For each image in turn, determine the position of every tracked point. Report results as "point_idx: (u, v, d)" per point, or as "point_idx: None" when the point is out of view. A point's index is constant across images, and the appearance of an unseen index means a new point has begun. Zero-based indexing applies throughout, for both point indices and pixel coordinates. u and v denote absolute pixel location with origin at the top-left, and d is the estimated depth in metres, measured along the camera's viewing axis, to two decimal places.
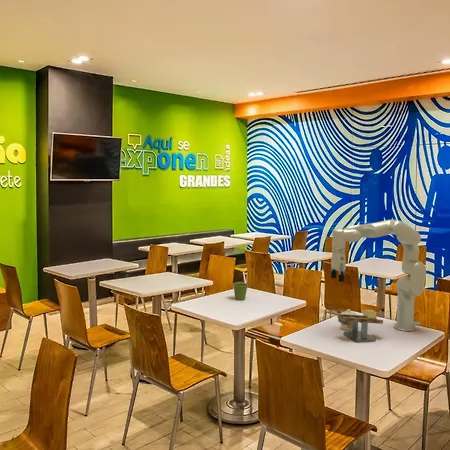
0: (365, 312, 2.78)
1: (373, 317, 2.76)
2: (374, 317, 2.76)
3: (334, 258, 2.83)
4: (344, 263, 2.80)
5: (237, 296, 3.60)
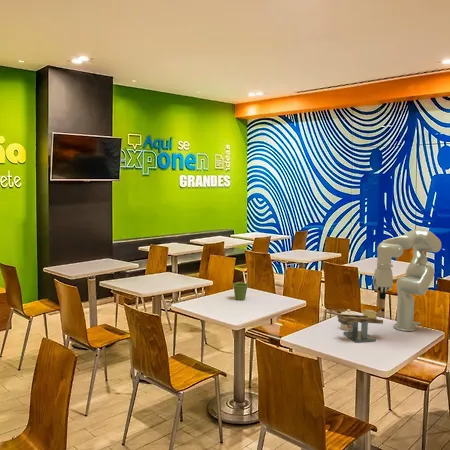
0: (365, 312, 2.78)
1: (373, 317, 2.76)
2: (374, 317, 2.76)
3: (386, 275, 2.75)
4: None
5: (237, 296, 3.60)
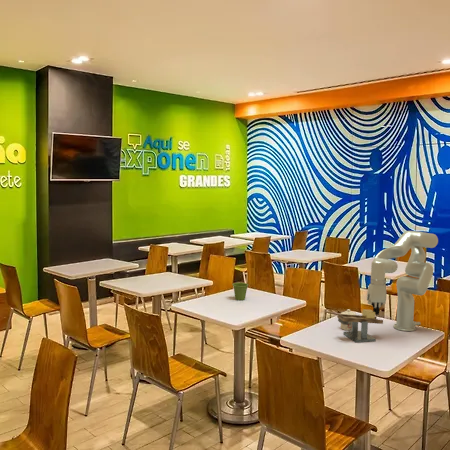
0: (364, 312, 2.78)
1: (372, 317, 2.76)
2: (373, 317, 2.76)
3: (380, 291, 2.75)
4: None
5: (237, 296, 3.60)
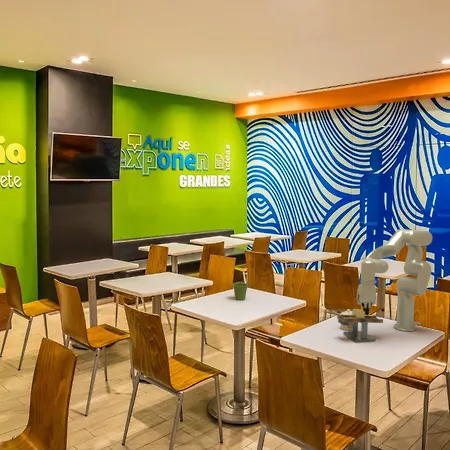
0: (354, 312, 2.76)
1: (362, 316, 2.74)
2: (363, 316, 2.74)
3: (370, 291, 2.74)
4: None
5: (237, 296, 3.60)
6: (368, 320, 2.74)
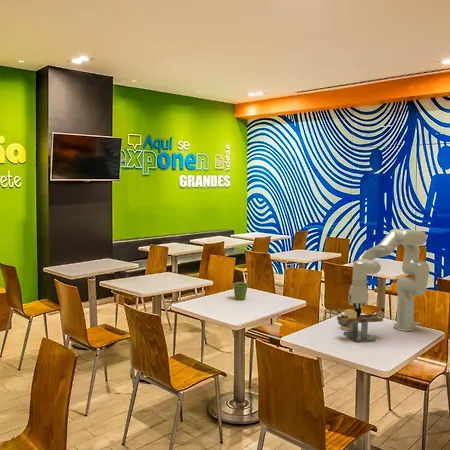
0: (346, 313, 2.75)
1: (354, 316, 2.73)
2: (355, 317, 2.73)
3: (361, 291, 2.73)
4: None
5: (237, 296, 3.60)
6: (368, 320, 2.74)
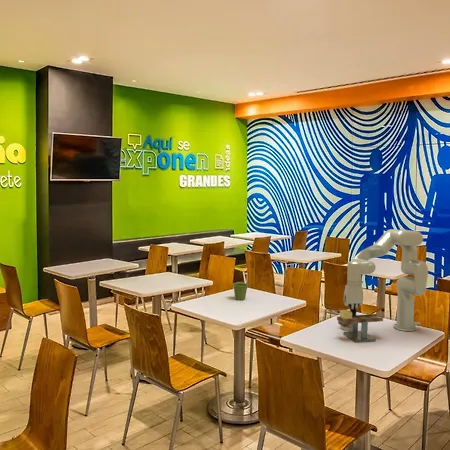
0: (341, 313, 2.74)
1: (349, 317, 2.73)
2: (350, 317, 2.73)
3: (356, 292, 2.72)
4: None
5: (237, 296, 3.60)
6: (368, 320, 2.74)
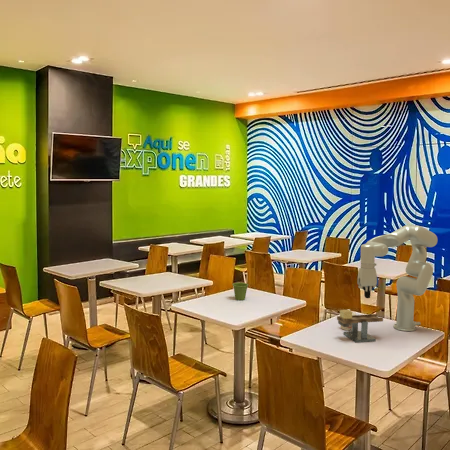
0: (341, 313, 2.74)
1: (349, 317, 2.73)
2: (350, 317, 2.73)
3: (370, 274, 2.76)
4: None
5: (237, 296, 3.60)
6: (368, 320, 2.74)
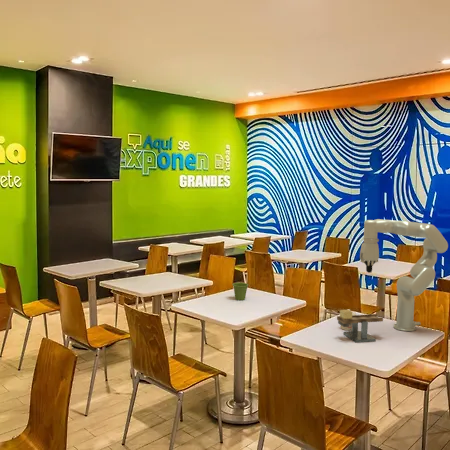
0: (341, 313, 2.74)
1: (349, 317, 2.73)
2: (350, 317, 2.73)
3: (372, 249, 2.85)
4: None
5: (237, 296, 3.60)
6: (368, 320, 2.74)
